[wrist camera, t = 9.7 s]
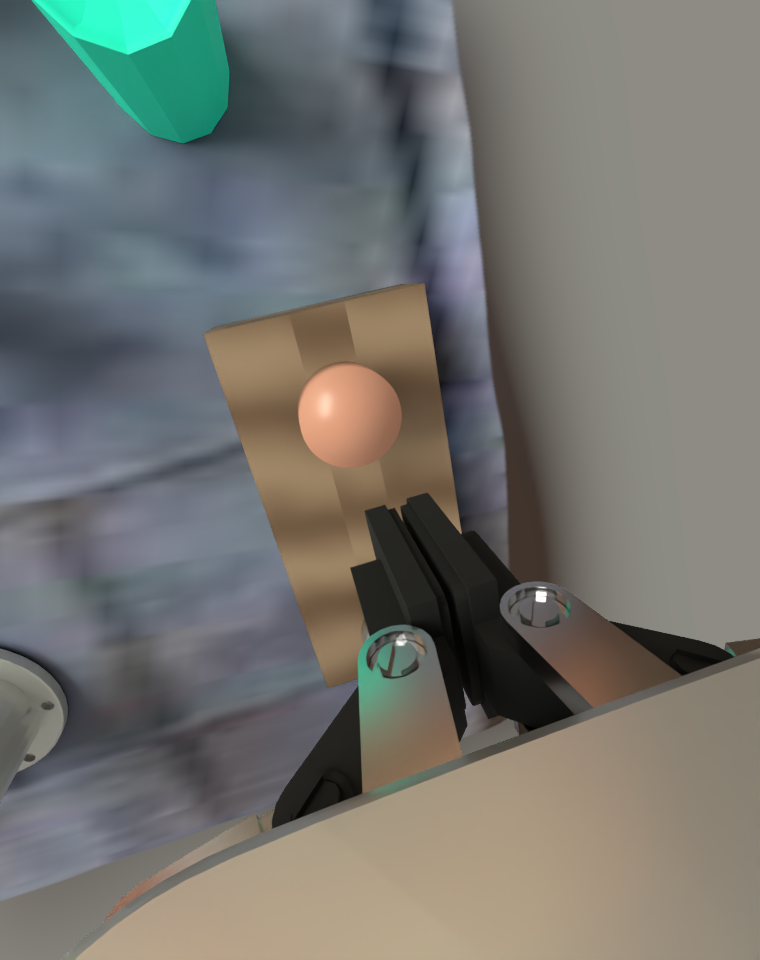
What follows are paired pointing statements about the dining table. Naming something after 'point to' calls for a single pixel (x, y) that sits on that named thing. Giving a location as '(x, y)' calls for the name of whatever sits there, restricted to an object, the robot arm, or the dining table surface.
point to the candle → (152, 59)
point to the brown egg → (348, 414)
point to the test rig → (314, 483)
